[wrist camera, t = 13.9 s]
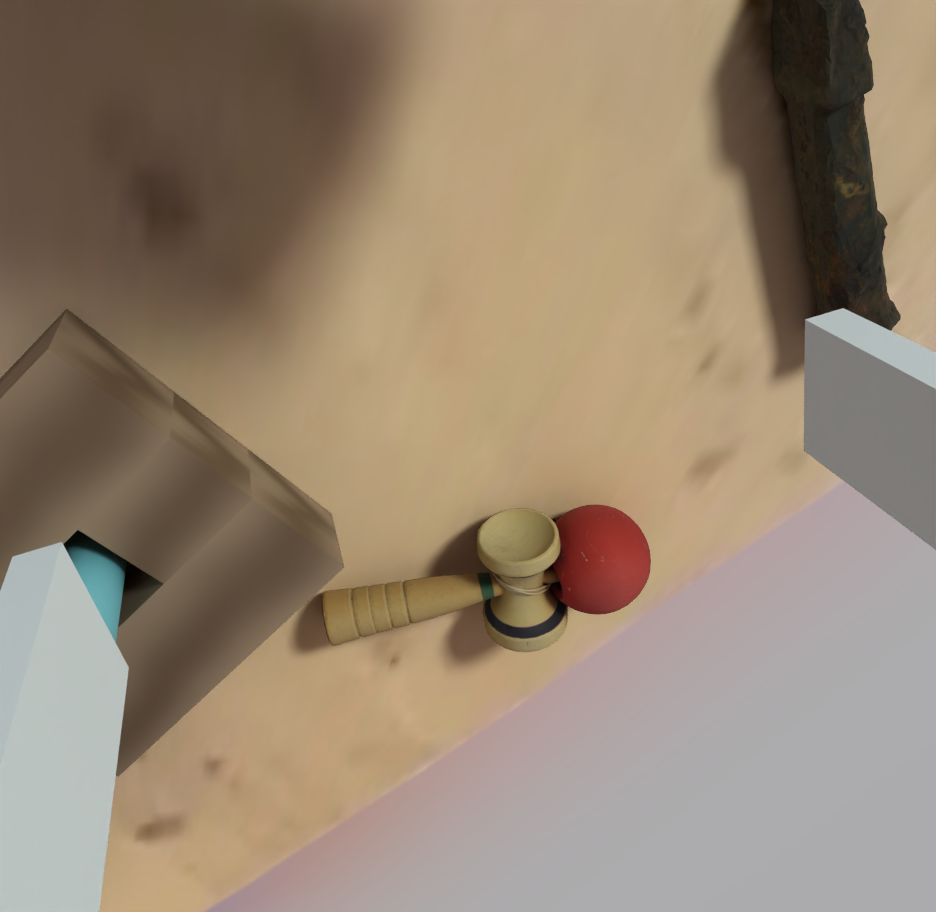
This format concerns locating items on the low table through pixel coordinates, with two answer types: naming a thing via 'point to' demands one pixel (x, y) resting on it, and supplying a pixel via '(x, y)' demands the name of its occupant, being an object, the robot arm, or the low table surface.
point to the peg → (99, 576)
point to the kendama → (513, 580)
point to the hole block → (155, 518)
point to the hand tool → (833, 151)
